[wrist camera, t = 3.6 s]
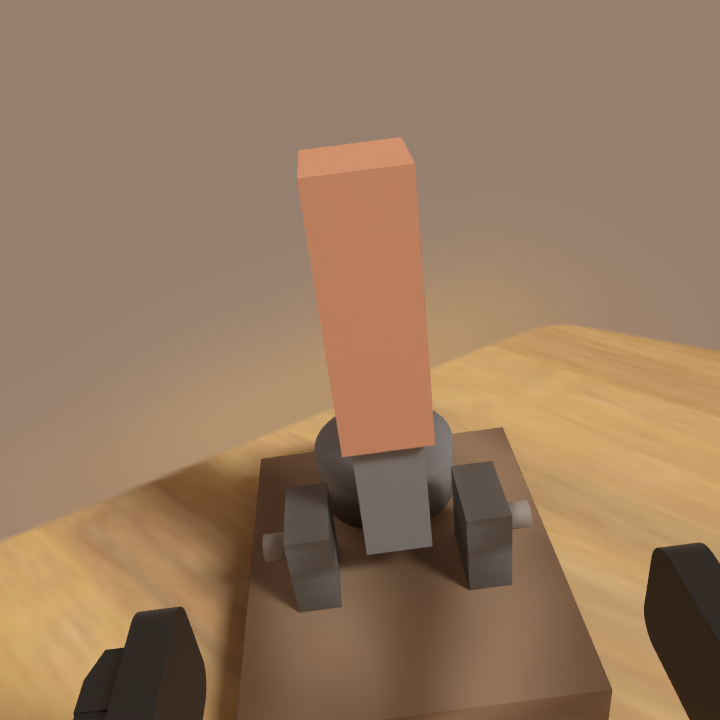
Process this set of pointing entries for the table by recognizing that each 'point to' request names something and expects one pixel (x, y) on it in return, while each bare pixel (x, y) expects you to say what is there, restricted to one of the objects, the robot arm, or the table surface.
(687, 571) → the robot arm
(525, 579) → the base
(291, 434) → the table surface
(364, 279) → the lever
